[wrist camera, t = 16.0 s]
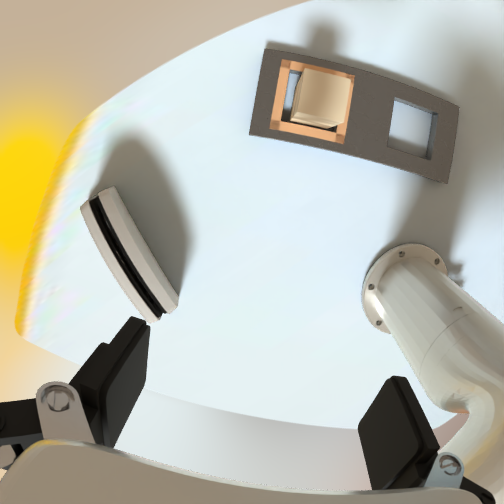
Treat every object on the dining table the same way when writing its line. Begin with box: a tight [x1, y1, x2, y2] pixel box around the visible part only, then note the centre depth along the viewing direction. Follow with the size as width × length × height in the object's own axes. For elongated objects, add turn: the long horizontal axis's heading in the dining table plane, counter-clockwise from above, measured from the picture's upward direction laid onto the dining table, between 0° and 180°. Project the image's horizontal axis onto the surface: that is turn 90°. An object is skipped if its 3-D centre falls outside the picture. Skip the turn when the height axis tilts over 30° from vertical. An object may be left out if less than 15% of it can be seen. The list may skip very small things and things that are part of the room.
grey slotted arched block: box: [80, 186, 179, 323], centre depth 34 cm, size 17×5×10 cm, turn 27°
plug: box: [289, 68, 351, 130], centre depth 28 cm, size 4×4×9 cm
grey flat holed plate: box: [249, 49, 459, 184], centre depth 31 cm, size 24×10×2 cm, turn 80°
